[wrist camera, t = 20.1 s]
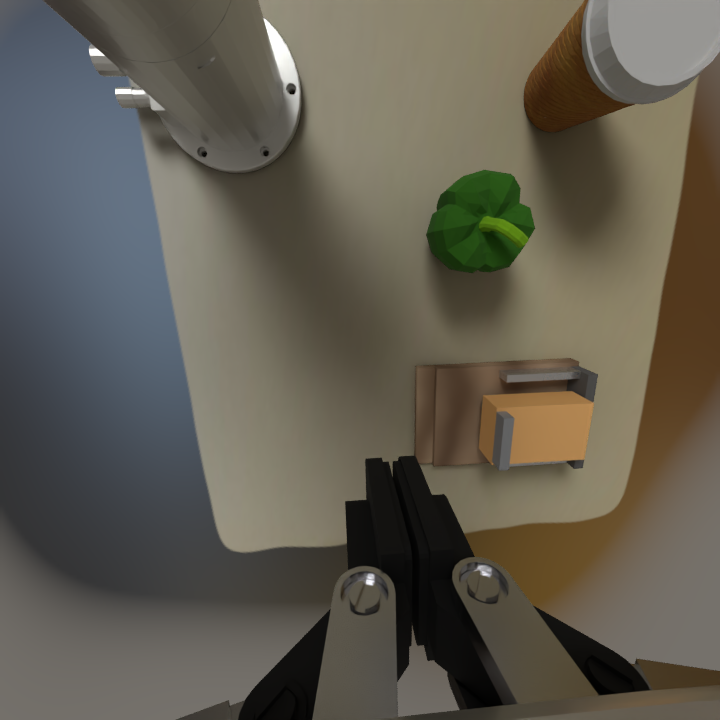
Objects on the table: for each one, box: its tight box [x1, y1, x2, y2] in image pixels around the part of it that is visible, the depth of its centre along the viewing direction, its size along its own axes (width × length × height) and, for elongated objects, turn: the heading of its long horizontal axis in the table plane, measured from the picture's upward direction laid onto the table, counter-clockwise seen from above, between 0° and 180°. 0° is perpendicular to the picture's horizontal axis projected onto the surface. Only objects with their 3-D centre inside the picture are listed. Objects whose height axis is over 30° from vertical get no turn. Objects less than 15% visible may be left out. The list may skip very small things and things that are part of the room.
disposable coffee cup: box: [524, 0, 720, 132], centre depth 27 cm, size 10×10×12 cm
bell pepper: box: [426, 170, 535, 273], centre depth 31 cm, size 8×8×10 cm
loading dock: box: [415, 358, 598, 469], centre depth 39 cm, size 18×12×4 cm, turn 92°
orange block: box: [479, 391, 594, 471], centre depth 37 cm, size 10×6×6 cm, turn 91°
